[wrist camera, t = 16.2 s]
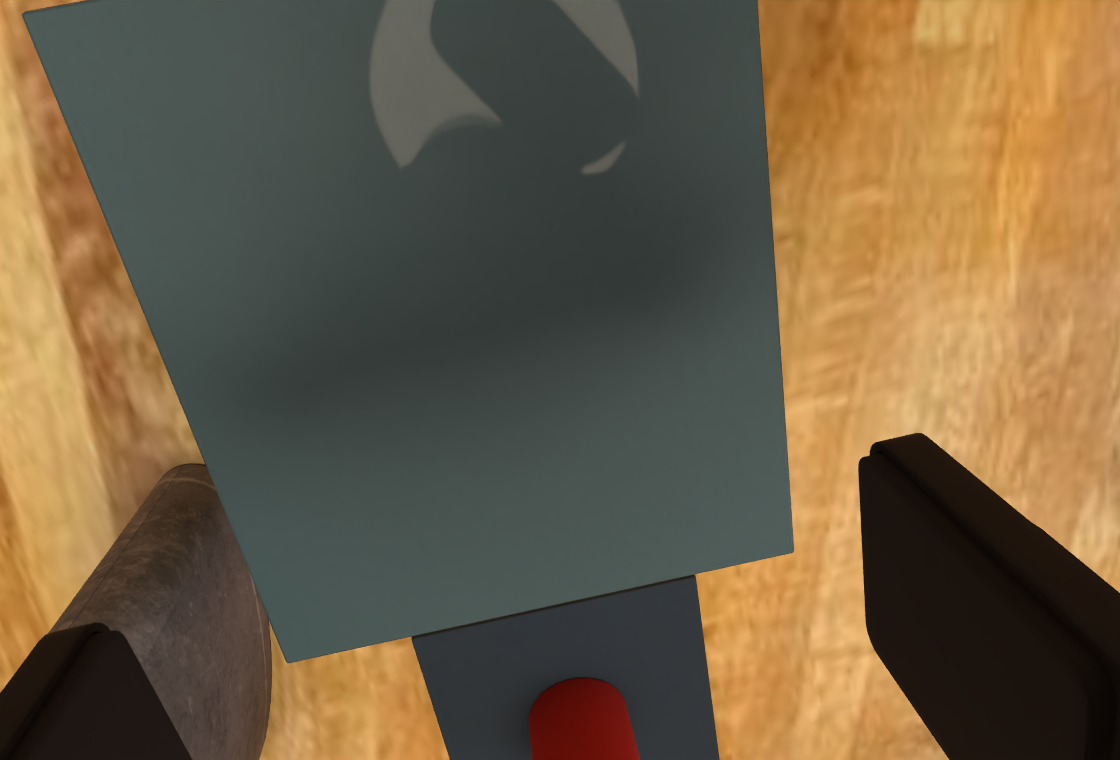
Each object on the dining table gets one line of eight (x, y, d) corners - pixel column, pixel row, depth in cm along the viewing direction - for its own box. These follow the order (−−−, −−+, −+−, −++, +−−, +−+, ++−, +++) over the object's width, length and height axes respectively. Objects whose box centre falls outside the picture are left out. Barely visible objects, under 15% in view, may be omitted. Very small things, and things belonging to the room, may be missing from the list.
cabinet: (173, 30, 23) (18, 12, 15) (653, -60, 23) (751, -123, 15) (334, 503, 29) (286, 665, 21) (707, 424, 30) (795, 553, 22)
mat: (411, 632, 32) (411, 639, 32) (693, 571, 32) (695, 576, 32) (474, 829, 37) (474, 836, 36) (719, 772, 37) (722, 779, 37)
